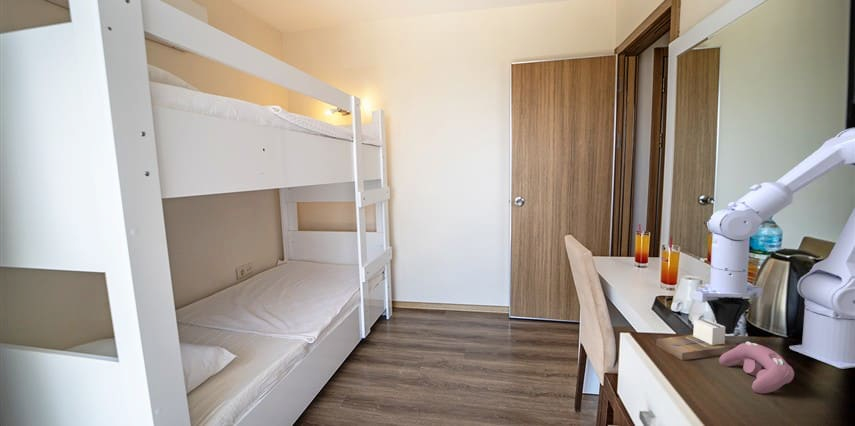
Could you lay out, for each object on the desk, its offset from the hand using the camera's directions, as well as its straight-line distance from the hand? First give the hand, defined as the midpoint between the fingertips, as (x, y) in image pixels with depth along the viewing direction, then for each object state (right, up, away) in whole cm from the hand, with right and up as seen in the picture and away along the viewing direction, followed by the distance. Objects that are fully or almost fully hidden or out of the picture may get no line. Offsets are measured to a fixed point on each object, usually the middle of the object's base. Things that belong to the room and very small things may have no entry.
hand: (725, 332), depth 71 cm
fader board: (-7, -3, -1) cm, 8 cm away
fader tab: (-4, -1, -1) cm, 4 cm away
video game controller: (-5, -4, -12) cm, 14 cm away
